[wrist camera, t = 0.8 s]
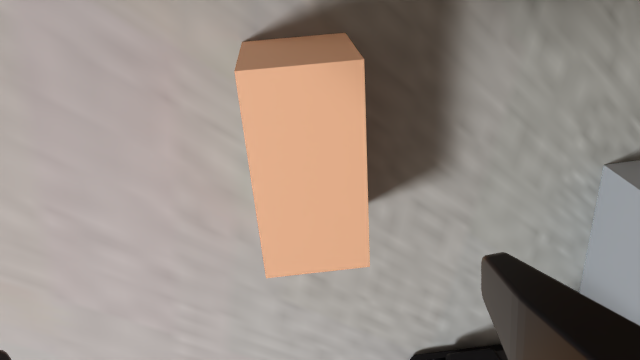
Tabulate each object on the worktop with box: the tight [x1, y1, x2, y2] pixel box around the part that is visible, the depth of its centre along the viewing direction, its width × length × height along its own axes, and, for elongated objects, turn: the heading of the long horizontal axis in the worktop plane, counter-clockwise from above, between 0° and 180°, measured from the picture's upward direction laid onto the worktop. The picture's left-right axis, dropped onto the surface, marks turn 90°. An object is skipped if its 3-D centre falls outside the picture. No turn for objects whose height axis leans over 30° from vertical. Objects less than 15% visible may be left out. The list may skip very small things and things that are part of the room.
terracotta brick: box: [235, 33, 370, 278], centre depth 19 cm, size 8×4×4 cm, turn 4°
